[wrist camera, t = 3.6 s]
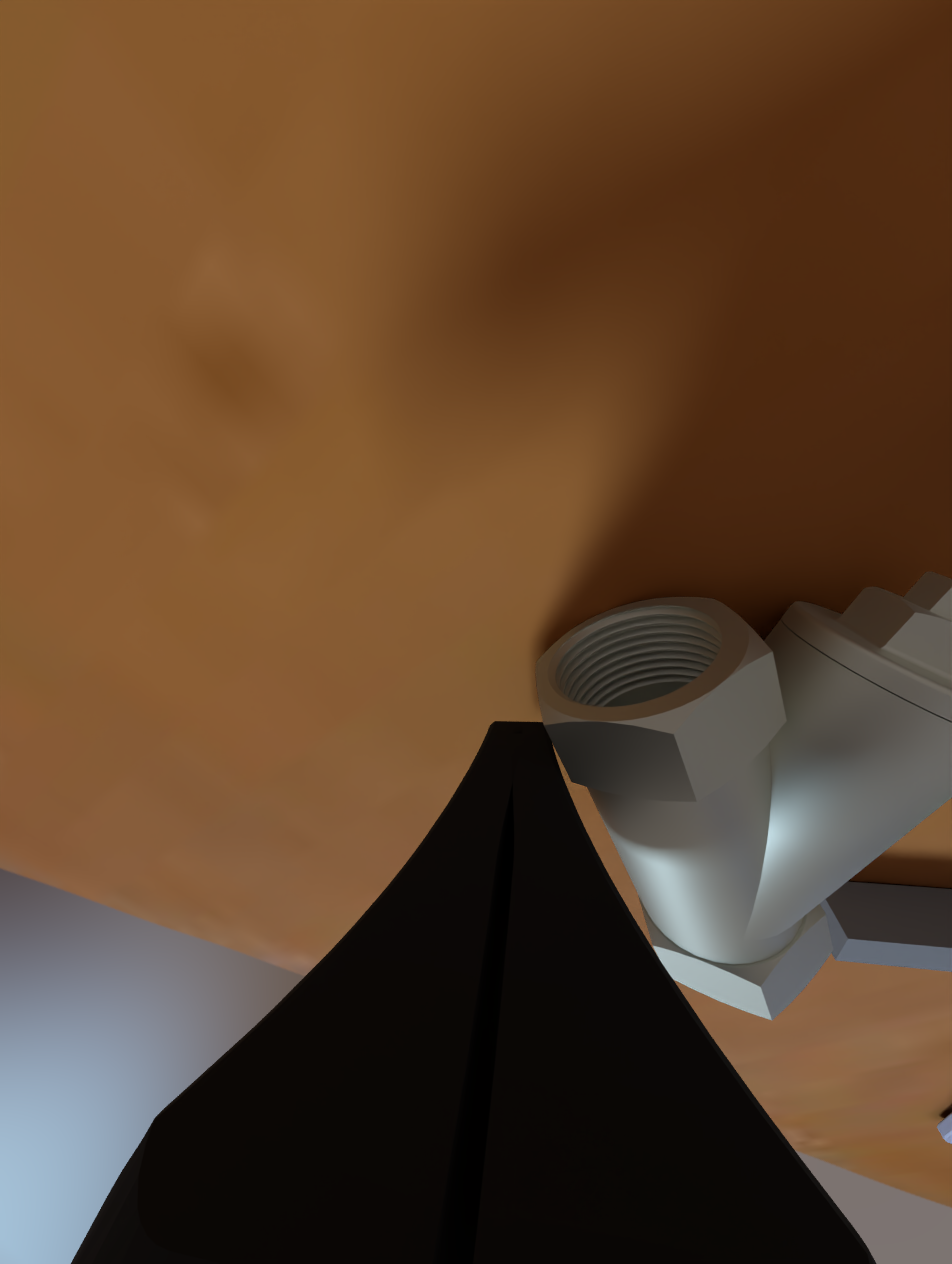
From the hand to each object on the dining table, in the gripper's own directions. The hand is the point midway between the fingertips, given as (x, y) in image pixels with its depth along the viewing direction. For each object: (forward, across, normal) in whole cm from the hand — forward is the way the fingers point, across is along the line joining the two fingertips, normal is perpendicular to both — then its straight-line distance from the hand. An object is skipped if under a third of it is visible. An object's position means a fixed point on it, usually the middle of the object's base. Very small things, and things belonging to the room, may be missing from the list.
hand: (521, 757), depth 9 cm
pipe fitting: (+2, -5, 0) cm, 5 cm away
